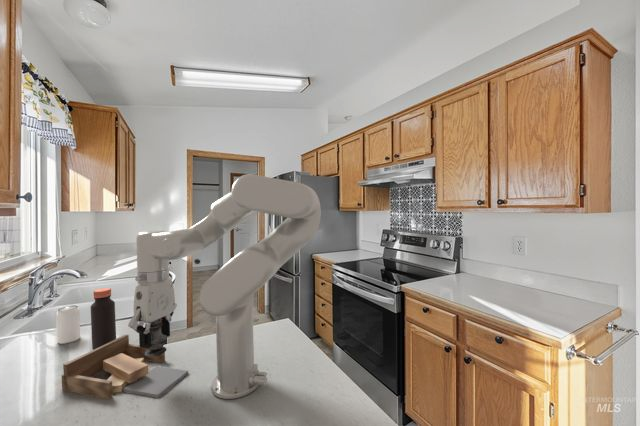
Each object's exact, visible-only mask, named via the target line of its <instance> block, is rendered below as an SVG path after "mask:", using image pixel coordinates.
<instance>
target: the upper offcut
mask: <svg viewBox="0 0 640 426" xmlns="http://www.w3.org/2000/svg"><path fill="white" fill-rule="evenodd" d="M103 369H104V371H105V372H107V373H109V374H111V375H112V374H113V375H115V376H117V377H119V378H120V379H122V380H124V381H126V382H128V384H131V383H133V382H134V381H136V380H137V379H139V378H141V377H143V376H145V375H147V374H148V372H149V364H147V363H145V362H144V363H143V362H141V361H138V360H136V359H134V358H132V357H129V356H127V355H125V354H123V353H121V354H118V355H116V356H113V357H111V358H108V359H106V360H104V361H103Z"/></svg>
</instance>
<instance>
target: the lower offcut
mask: <svg viewBox="0 0 640 426" xmlns="http://www.w3.org/2000/svg"><path fill="white" fill-rule="evenodd" d="M136 360H138V361H141V362H143V363H145V360H144V358H137V359H136ZM107 380H109V381H112V391H113V394H114V393H120V392H121V393H122V392H123V391H124V388H125V387H127V386H128V385H129V383H128V382H126V381H124V380H122V379H120V378H119V377H117V376H115V375H113V374H111V375H110V376H109V377H108V378H107Z"/></svg>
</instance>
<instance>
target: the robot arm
mask: <svg viewBox="0 0 640 426" xmlns="http://www.w3.org/2000/svg"><path fill="white" fill-rule="evenodd" d="M321 209H322V208H321V201H320V199H319V196H318V194H317V192H316V191H315V189H313V188H312V187H310V186H308V185H307V184H304V183H301V182H298V181H292V180H286V179H280V178H274V177H268V176H264V175H259V174H255V173H246V174H243V175H241V176H239V177H238V178H236V180H235V181H234V182H233V184H232V185H231V191H229V192H228V193H226V194H224V195H223V196H222V197H220V198H218V199H217V200H216V201H214V202H212V204H211V205H210V213H209V214H208V215H207V216H206V217H204V218H202V220H200V221H199V222H196V224H194V225H192V226H191V227H189V228H185V229H179V230H178V229H177V230H172V231H163V230H145V231H141V232H139V233H138V234H137V236H136V266H137V267H136V269H137V270H136V271H137V272H136V273H137V274H136V275H137V276H136V277H135V282H137V283H136V285H135V290H134V297H133V316H132V317H131V319H130V320H129V322H128V324H127V326H128V328H130V329H132V330H133V331H135V332H136V333H137V334H138V335H139V336H138V341H139V342H138V343H139V344H138V345H139V346H140V347H143V348H150V347H151V332H149V328H150V324H151V322H154V321H156V320H158V319H160V318H161V323H162V326H161V332H162V334H164V335H167V338H169V337H170V336H171V326H170V325H171V321H172V317H173V315H174V313H175V312H174V311H175V310H176V308H177V303H176V299H175V298H176V297H175V288H174V284H173V281H172V280H173V279H172V277H170V261H176V260H180V259H184V258H186V257H189V256H192V255H195V254H198V253H200V252H201V251H203V250H205V249H206V248H208V247H209V246H210V245H212V244H214V243H216V242H217V241H218V240H220V239H221V238H223V237H224V236H225V235H227V234H228V233H229V232H231V231H232V230H233V229H235V228H236V227H238V226H239V225H241V224H242V223H244V222H246V221H247V220H249V219H250V218H252V217H253V216H255V215H256V214H258V213H262V214H269V215H273V216H278V217H284V218H286V219H285V220H283V222H281V223H280V224H278V225H277V226H276V227H275V228H274V229H273V230H272V231H271V232H270V233H268V235H266V236H265V237H263V239H261V240H260V241H258V242H256V243H255V244H251V245H250V246H247V247H245V248H244V249H242V250H241V251H239V252H237V254H235V255H234V256H233V257H232V258H231V259H230V260H229V261H227V262H226V263H225V264H224V265H223V266H221V267H220V268H219V269H218V270H217V271H216V272H214V273H213V274H212V275H211V276H210V277H209V278H207V280H206V281H204V283H203V284H202V286H201V288H200V291H199V294H198V295H199V297H198V300H199V305H200V307H201V308H202V311H204V312H205V313H206V314H208V315H210V316H214V317H216V318H215V332H216V333H215V337H216V339H215V340H216V360H217V361H216V366H217V367H216V371H217V376H216V377H215V378H213V380H212V382H211V393H212V394H213V395H214V396H215V397H218V398H219V399H224V400H225V399H226V400H231V399H233V400H234V399H238V398H239V399H240V398H241V397H242V398H243V397H245V396H247V395H249V394H251V393H253V392H254V391H255V390H256V389H257V388H258V387H259V385H260V386H266V385H267V383H268V377H267V374H268V373H267V372H266V371H259V369H258V367H259V364H257V363H255V351H254V349H255V347H254V344H255V343H254V298H255V293H256V292H258V291H259V290H260V289H261V288H262V287H263V286H265V284H267V283H268V282H269V281H270V280H271V279H272V278H273V277H274V276H275V275H276V273H277V272H278V271H279V270H280V268H281V267H283V266H284V264H286V263H287V262H288V261H289V260H291V259H292V258H293V257H294V256H295V255H296V254H297V253H298V252H299V251H300V250H301V249H302V248H304V246H306V245H307V244H308V243H309V242H310V240H312V238H313V237H314V235H315V234H316V232H317V230H318V228H319V225H320V222H321V217H322V210H321ZM169 260H170V261H169Z"/></svg>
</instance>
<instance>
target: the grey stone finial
mask: <svg viewBox="0 0 640 426" xmlns="http://www.w3.org/2000/svg"><path fill="white" fill-rule="evenodd" d="M161 326H162V323H161V318H160V319H158V320H156V321H154V322H151V324H150V328H149V332H151V347H150V348H146V349H148V350H147V351H146V352H145V354H144V355H145V356H147V357H153V356H158V355H161V354H163V353H164V352H165V353H166V351H167V348H166V347H165V346H164V345H166V342H167V339H168V337H167V335H164V334H162V332H161Z"/></svg>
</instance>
